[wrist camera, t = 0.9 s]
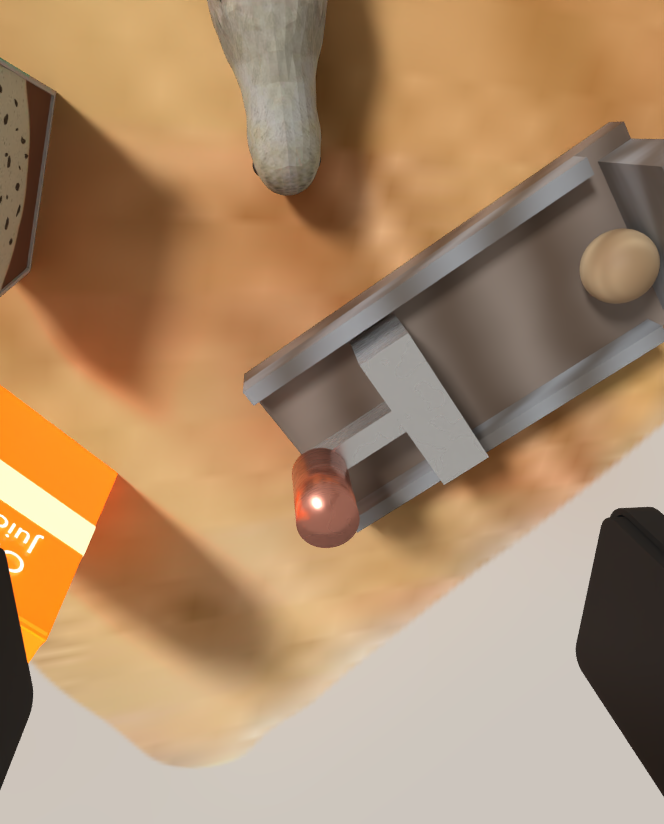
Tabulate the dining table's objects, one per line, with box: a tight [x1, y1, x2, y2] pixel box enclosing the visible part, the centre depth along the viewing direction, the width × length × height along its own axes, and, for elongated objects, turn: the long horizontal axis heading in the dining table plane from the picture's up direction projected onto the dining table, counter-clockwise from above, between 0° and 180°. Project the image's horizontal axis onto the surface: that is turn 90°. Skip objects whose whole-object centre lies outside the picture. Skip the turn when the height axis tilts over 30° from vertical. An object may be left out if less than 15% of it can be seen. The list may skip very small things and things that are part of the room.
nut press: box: [243, 122, 664, 532], centre depth 35 cm, size 25×12×8 cm, turn 124°
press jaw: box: [292, 313, 489, 548], centre depth 35 cm, size 10×9×8 cm
